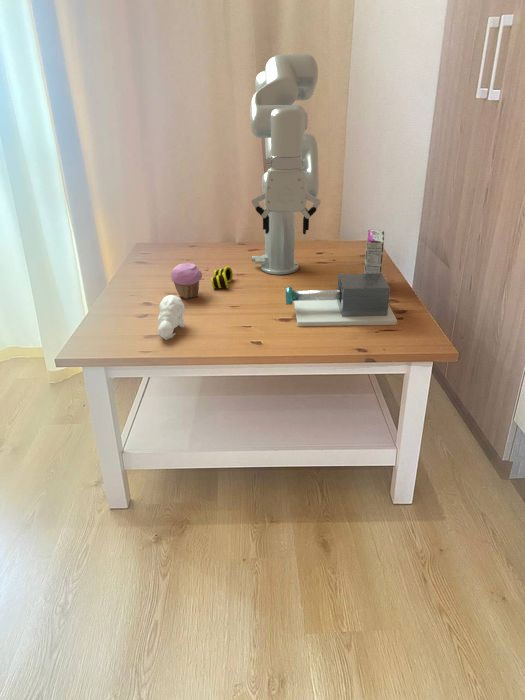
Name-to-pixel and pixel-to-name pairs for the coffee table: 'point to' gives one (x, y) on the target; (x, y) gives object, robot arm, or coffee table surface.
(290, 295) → the steel shaft
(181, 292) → the cupcake
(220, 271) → the opera glasses
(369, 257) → the candy bar box
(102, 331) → the coffee table surface
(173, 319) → the white figurine
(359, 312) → the shaft housing
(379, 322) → the mounting board
